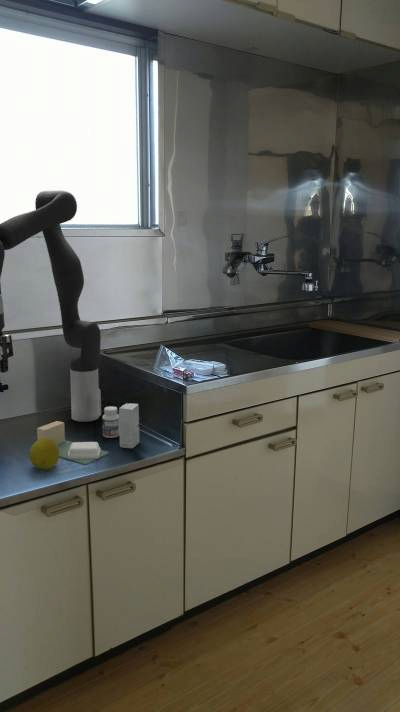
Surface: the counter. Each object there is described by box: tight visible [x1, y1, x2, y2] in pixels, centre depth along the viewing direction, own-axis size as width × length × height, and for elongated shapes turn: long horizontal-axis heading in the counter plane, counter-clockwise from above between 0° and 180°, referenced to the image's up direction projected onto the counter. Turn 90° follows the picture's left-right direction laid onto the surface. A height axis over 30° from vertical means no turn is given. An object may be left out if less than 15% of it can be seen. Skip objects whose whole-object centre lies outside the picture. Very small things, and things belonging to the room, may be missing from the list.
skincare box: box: [118, 402, 140, 449], centre depth 178 cm, size 6×4×12 cm
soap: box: [68, 441, 101, 459], centre depth 170 cm, size 9×7×3 cm
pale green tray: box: [36, 420, 110, 466], centre depth 173 cm, size 10×20×6 cm, turn 58°
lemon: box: [29, 438, 60, 471], centre depth 161 cm, size 11×8×8 cm
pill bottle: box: [101, 406, 120, 439], centre depth 186 cm, size 5×5×9 cm
